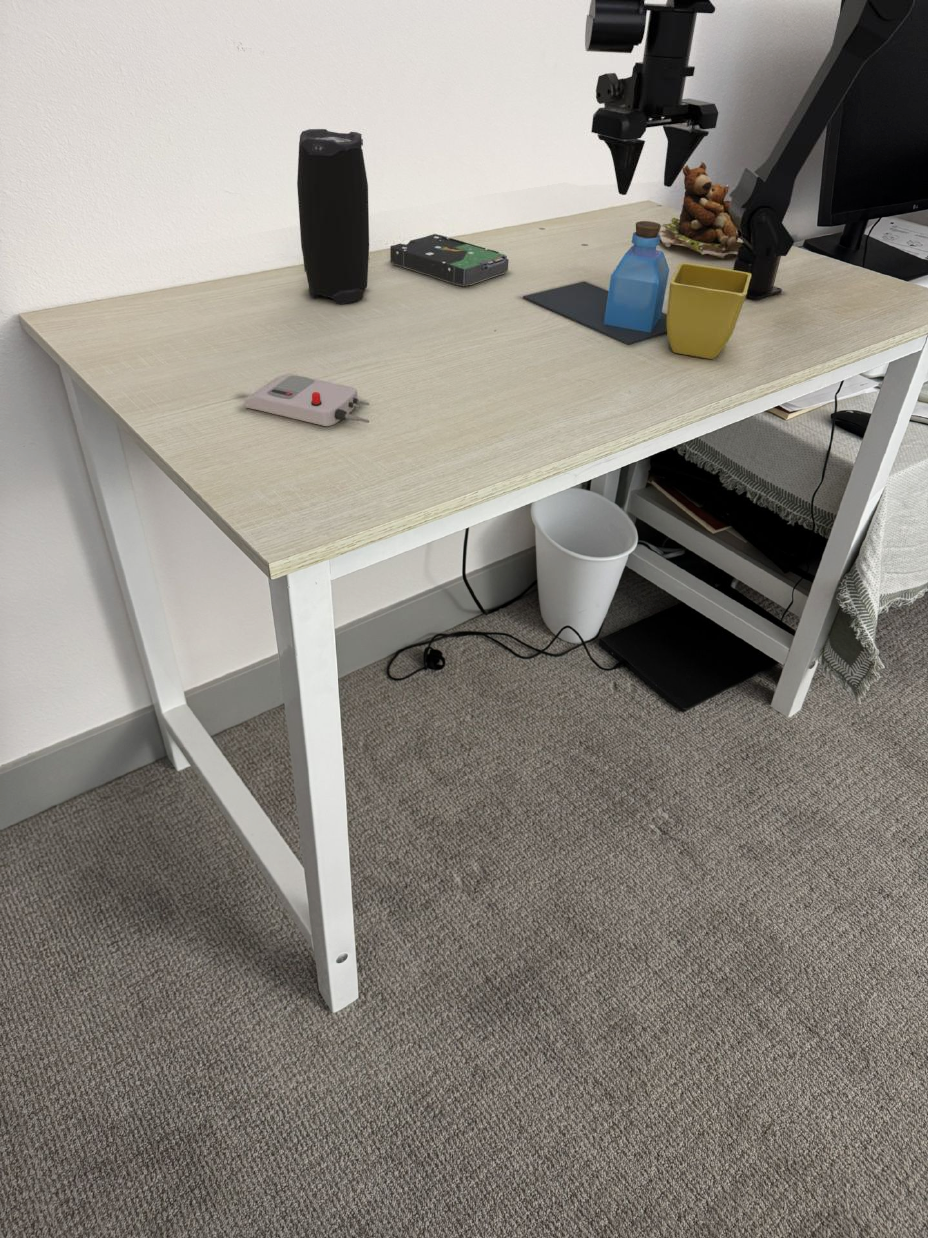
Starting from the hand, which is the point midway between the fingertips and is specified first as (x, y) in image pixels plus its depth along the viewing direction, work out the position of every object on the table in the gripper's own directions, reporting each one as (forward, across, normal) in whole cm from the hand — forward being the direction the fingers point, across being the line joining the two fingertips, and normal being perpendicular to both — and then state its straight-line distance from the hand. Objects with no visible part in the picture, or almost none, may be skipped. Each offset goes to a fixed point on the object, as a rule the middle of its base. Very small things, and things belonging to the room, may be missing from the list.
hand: (645, 190), depth 120 cm
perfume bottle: (+13, +11, +10) cm, 20 cm away
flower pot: (+13, +11, +21) cm, 27 cm away
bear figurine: (+13, -25, -7) cm, 29 cm away
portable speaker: (+13, +38, -20) cm, 44 cm away
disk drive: (+13, +18, -20) cm, 30 cm away
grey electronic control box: (+13, +59, +8) cm, 61 cm away
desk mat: (+13, +11, +5) cm, 18 cm away
